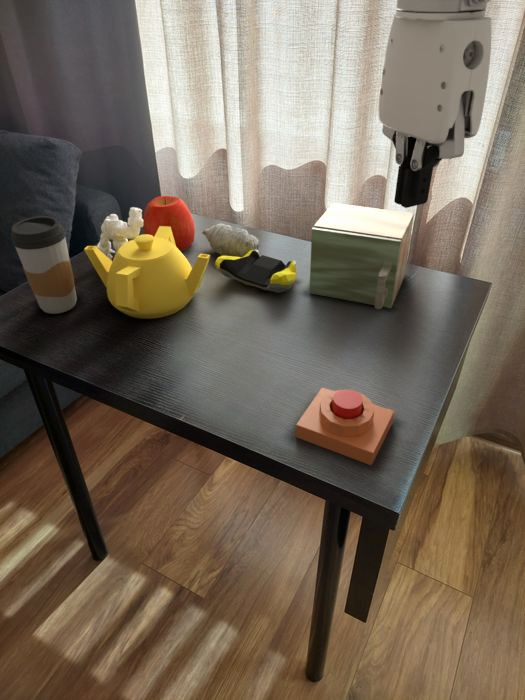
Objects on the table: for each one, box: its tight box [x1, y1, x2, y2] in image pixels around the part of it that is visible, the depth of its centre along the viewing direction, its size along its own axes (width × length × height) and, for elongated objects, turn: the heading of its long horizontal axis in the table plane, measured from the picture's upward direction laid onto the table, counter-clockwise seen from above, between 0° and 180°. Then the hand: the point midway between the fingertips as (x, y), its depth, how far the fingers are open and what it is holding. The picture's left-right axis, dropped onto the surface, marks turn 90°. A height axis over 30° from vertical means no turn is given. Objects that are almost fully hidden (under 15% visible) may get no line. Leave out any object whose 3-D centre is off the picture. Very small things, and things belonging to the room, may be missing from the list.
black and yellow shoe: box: [214, 250, 297, 294], centre depth 95 cm, size 15×6×10 cm
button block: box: [295, 387, 395, 466], centre depth 66 cm, size 10×8×4 cm
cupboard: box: [313, 202, 415, 306], centre depth 93 cm, size 11×15×13 cm
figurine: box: [96, 206, 144, 261], centre depth 100 cm, size 10×5×12 cm, turn 80°
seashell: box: [202, 222, 262, 257], centre depth 105 cm, size 6×14×8 cm, turn 52°
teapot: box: [83, 226, 211, 320], centre depth 90 cm, size 17×17×12 cm
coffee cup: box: [10, 215, 78, 315], centre depth 88 cm, size 8×8×15 cm
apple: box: [142, 195, 196, 252], centre depth 108 cm, size 11×11×11 cm
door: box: [309, 226, 402, 310], centre depth 86 cm, size 6×15×12 cm, turn 68°
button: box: [332, 388, 363, 419], centre depth 64 cm, size 4×4×2 cm
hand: (410, 202), depth 56 cm, fingers closed
